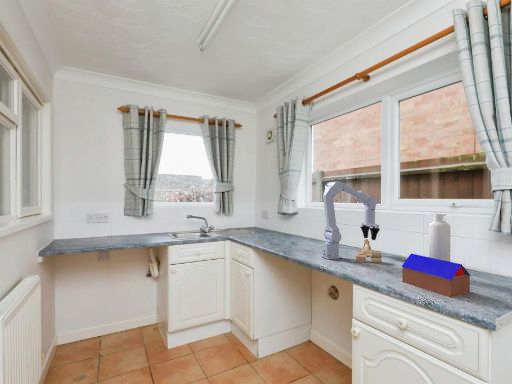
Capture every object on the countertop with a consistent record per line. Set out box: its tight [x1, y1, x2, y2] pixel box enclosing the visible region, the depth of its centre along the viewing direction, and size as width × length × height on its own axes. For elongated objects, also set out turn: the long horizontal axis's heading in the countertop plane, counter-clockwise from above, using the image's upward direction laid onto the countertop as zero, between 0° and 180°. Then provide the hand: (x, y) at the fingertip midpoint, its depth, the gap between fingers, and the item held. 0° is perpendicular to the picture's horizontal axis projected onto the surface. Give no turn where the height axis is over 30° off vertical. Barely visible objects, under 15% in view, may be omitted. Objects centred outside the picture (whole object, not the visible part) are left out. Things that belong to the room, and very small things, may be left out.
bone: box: [356, 238, 372, 258], centre depth 170 cm, size 10×10×15 cm
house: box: [401, 253, 472, 299], centre depth 110 cm, size 12×20×12 cm, turn 24°
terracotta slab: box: [355, 254, 367, 263], centre depth 154 cm, size 5×5×3 cm
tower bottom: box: [370, 257, 382, 265], centre depth 151 cm, size 5×5×3 cm
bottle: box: [428, 213, 451, 262], centre depth 125 cm, size 8×8×28 cm
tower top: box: [370, 249, 382, 259], centre depth 151 cm, size 5×5×3 cm
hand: (369, 239), depth 168 cm, fingers open, 7 cm apart
